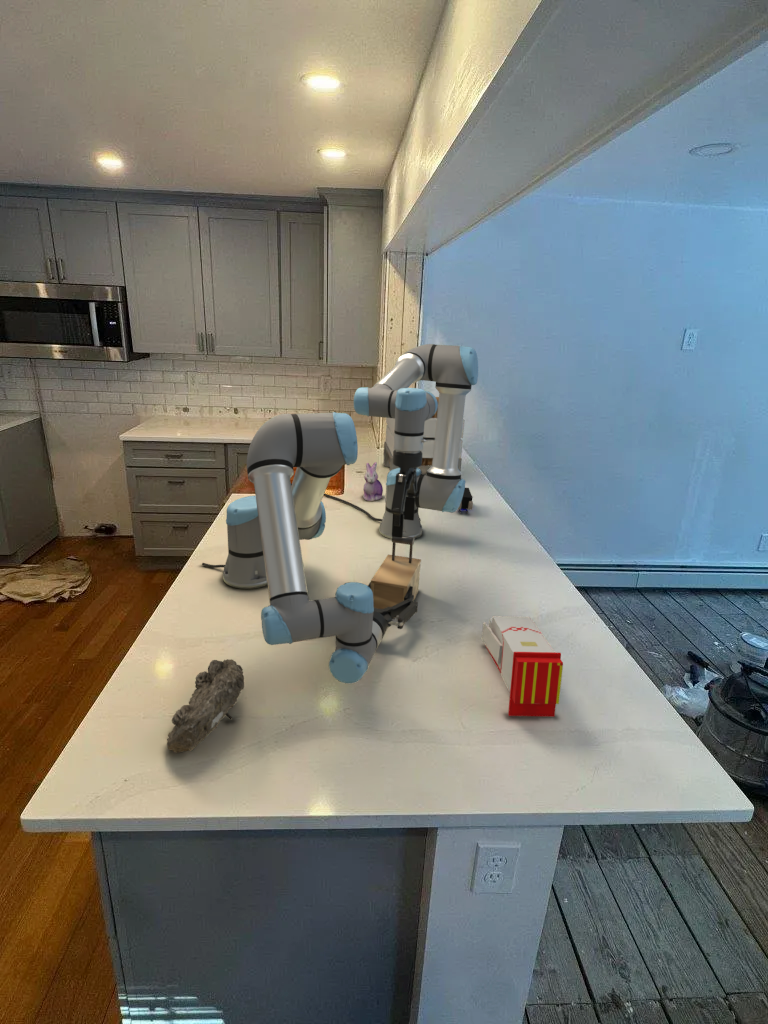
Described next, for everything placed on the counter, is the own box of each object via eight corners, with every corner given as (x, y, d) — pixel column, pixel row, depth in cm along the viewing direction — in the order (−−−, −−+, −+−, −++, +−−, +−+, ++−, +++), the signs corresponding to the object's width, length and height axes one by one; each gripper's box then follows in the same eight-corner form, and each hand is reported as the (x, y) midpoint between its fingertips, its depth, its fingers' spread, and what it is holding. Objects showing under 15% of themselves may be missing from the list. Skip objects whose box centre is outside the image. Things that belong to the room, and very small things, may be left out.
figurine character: (473, 518, 221) (467, 502, 235) (475, 501, 218) (469, 485, 231) (455, 518, 221) (451, 501, 234) (457, 500, 218) (453, 485, 231)
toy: (528, 601, 136) (572, 659, 107) (523, 653, 139) (565, 722, 110) (478, 600, 136) (508, 657, 107) (474, 652, 139) (503, 722, 109)
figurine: (367, 502, 230) (368, 467, 225) (357, 495, 238) (358, 460, 233) (388, 500, 234) (389, 465, 229) (377, 492, 242) (378, 458, 237)
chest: (385, 585, 162) (387, 558, 159) (418, 591, 160) (420, 563, 157) (369, 613, 147) (370, 583, 144) (405, 619, 145) (407, 589, 142)
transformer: (382, 463, 289) (386, 382, 275) (445, 464, 293) (451, 384, 279) (390, 482, 257) (394, 392, 243) (460, 483, 261) (468, 394, 247)
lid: (387, 556, 160) (389, 529, 157) (421, 561, 158) (423, 534, 155) (370, 583, 144) (371, 553, 142) (407, 588, 142) (409, 558, 139)
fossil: (192, 660, 117) (244, 628, 112) (224, 691, 120) (276, 661, 115) (142, 746, 98) (202, 712, 93) (182, 779, 101) (242, 748, 96)
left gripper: (320, 637, 131) (350, 593, 151) (414, 655, 125) (432, 607, 146) (320, 608, 128) (351, 568, 148) (416, 625, 123) (435, 581, 143)
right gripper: (411, 463, 133) (406, 546, 140) (431, 442, 155) (425, 514, 162) (380, 459, 134) (377, 542, 141) (404, 439, 157) (400, 511, 164)
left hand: (391, 587), depth 147 cm, fingers closed on chest, 9 cm apart
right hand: (403, 527), depth 152 cm, fingers open, 13 cm apart
